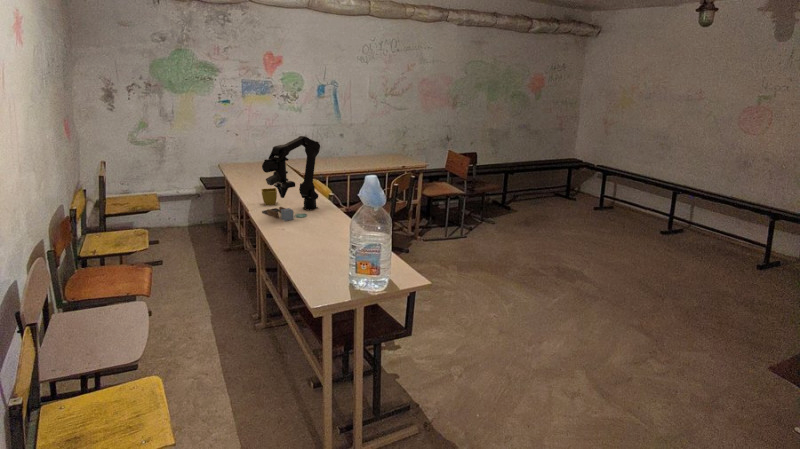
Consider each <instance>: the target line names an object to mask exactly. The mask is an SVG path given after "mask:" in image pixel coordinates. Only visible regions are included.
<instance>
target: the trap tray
mask: <svg viewBox="0 0 800 449" xmlns="http://www.w3.org/2000/svg"><path fill="white" fill-rule="evenodd" d="M269 209H270V210H272V211H275V212H278V213H280V212H279V208H277V207H276V208H275V207H274V208H269ZM261 213H262V214H265V215H267V209H266V210H262V211H261Z"/></svg>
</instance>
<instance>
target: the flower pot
mask: <svg viewBox="0 0 800 449" xmlns="http://www.w3.org/2000/svg"><path fill="white" fill-rule="evenodd" d="M277 190H278V189H277V188H276V187H270V188H262V189H261V196H262V201H263V203H264V205H265V206H273V205H276V203H277V199H278V198H277V197H278V193H277V192H278V191H277Z"/></svg>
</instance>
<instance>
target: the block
mask: <svg viewBox="0 0 800 449" xmlns="http://www.w3.org/2000/svg"><path fill="white" fill-rule="evenodd" d="M285 208H286V209H281V212H280V218H281V220H282V221H284V222H287V221H294V218H295V216H294V210H293V208H291V207H285Z"/></svg>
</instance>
